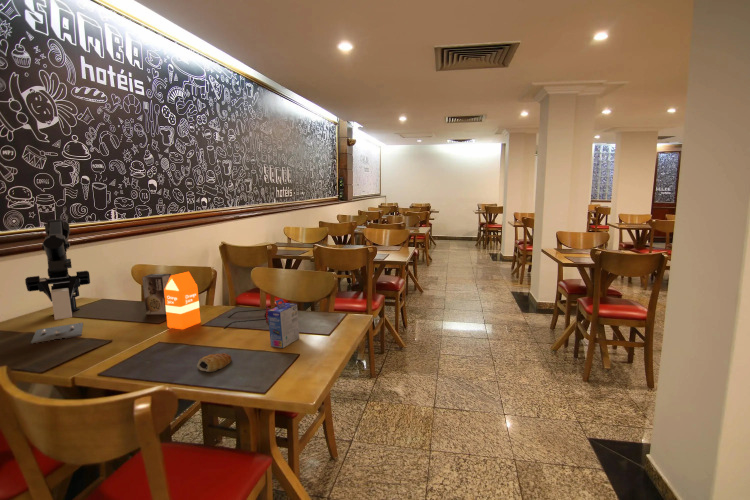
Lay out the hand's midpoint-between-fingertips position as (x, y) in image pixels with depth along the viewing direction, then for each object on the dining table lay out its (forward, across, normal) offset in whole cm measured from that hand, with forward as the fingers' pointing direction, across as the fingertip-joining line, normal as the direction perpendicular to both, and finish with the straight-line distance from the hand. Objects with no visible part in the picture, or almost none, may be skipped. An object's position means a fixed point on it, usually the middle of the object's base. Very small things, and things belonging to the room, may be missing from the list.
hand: (61, 299), depth 149 cm
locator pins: (+10, -2, +7) cm, 12 cm away
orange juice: (+22, +37, -4) cm, 43 cm away
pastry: (+55, +35, -37) cm, 75 cm away
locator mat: (+8, -2, +9) cm, 13 cm away
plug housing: (+4, 0, +5) cm, 7 cm away
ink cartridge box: (+52, +59, -34) cm, 85 cm away
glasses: (+30, +57, -12) cm, 66 cm away
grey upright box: (+5, +32, +13) cm, 35 cm away
